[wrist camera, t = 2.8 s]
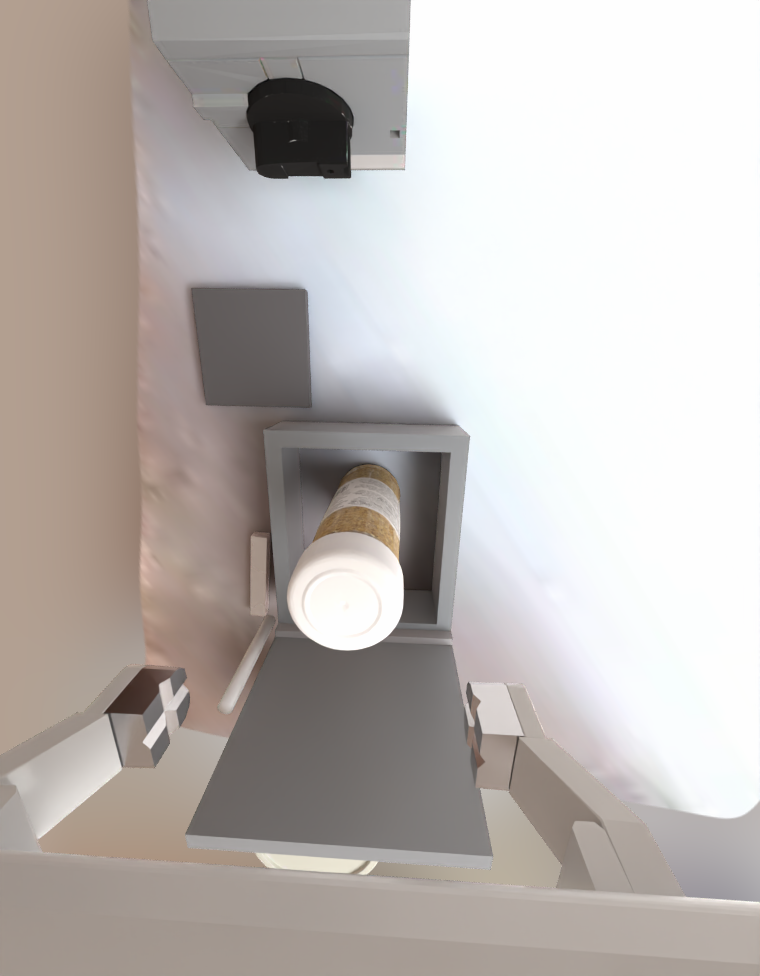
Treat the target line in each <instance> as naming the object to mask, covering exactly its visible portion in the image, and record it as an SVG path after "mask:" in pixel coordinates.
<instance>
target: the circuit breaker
mask: <svg viewBox="0 0 760 976" xmlns="http://www.w3.org/2000/svg"><path fill="white" fill-rule="evenodd" d="M410 2H411V0H147V3H148V11H149V18H150V25H151V33H152V40H153V42H154V43H155V45H156V46H157V48H158V49H159V51H160V52H161V53H162V55H163V56H164V58H165V59H166V60H167V62H168V63H169V65H170V66H171V67H172V69H173V70H174V71H175V73H176V74H177V75H178V76H179V78H180V79H181V80H182V82H183V83H184V84H185V86H186V87H187V88H188V90H189V91H190V92H191V94H192V99H193V106H194V108H195V109H196V111H197V112H198V113H199V114H200V116H201V117H202V118H203V119H204V120H212V122H213V123H214V124H215V126H216V127H217V128H218V130H219V131H220V132H221V134H222V135H223V136H224V138H225V139H226V140H227V141H228V143H229V144H230V145H231V147H232V148H233V149H234V151H235V152H236V153H237V155H238V156H239V157H240V159H241V160H242V161H243V163H244V164H245V165H246V167H247V168H248V169H249V170H257V172H258V173H259V174H260V175H262V176H264V177H267V178H273V179H288V176H323V177H324V178H351V170H405V151H406V122H407V92H408V63H409V33H410Z"/></svg>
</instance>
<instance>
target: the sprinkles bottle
mask: <svg viewBox="0 0 760 976" xmlns="http://www.w3.org/2000/svg"><path fill="white" fill-rule="evenodd" d="M399 502H400V489H399V486H398V483H397V481H396V479H395V478H394V476H392V474H391V473H390V472H389V471H387V470H386V469H384V468H382V467H380V466H377V465H370V464H367V465H361V466H357V467H355V468H353V469H351V470H350V471H349V472H347V473H346V475H345V476H344V477H343V478H342V480H341V482H340V485H339V487H338V490H337V492H336V493H335V495H334V497H333V499H332V501H331V503H330V505H329V507H328V509H327V511H326V513H325V515H324V517H323V519H322V521H321V523H320V525H319V527H318V529H317V532H316V535H315V538H314V540H313V543H312V544H311V545H310V546H309V547H308V548H307V549H306V550H305V551H304V552H303V554H302V556H301V557H300V559H299V561H298V563H297V565H296V567H295V569H294V572H293V574H292V576H291V579H290V582H289V585H288V590H287V603H288V609H289V612H290V614H291V617H292V619H293V621H294V622H295V624H296V625H297V627H298V628H299V629H300V630H301V631H302V632H303V633H304V634H305V635H306V636H307V637H309V638H310V639H311V640H313V641H315V642H317V643H318V644H320V645H323V646H325V647H328V648H332V649H337V650H358V649H363V648H366V647H370V646H372V645H375V644H376V643H378V642H380V641H381V640H383V639H384V638H385V637H387V636H388V635H389V634H390V633H391V632H392V631H393V629H394V628H395V627H396V625H397V623H398V621H399V619H400V617H401V614H402V609H403V595H404V589H403V573H402V569H401V566H400V564H399V541H400V507H399Z"/></svg>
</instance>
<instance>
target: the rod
mask: <svg viewBox="0 0 760 976" xmlns="http://www.w3.org/2000/svg"><path fill="white" fill-rule="evenodd" d="M270 536H271V533H265V532H257V531H255V532H254V533H253V534H252V535H251V569H250V615H256V616H264V617H265V616H266V614H267V612H268V610H269V574H270Z"/></svg>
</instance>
